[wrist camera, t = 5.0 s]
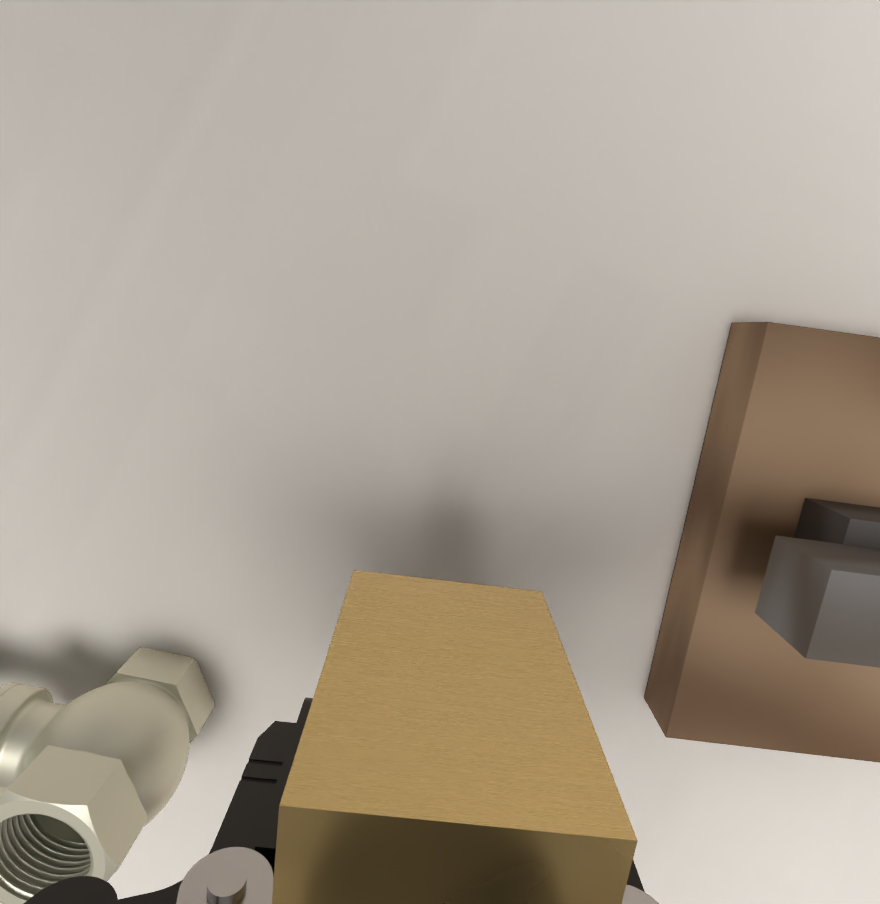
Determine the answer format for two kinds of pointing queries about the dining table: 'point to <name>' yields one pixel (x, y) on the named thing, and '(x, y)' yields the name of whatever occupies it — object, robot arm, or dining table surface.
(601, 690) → the dining table surface
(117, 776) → the valve
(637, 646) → the dining table surface
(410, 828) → the block
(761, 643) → the base
